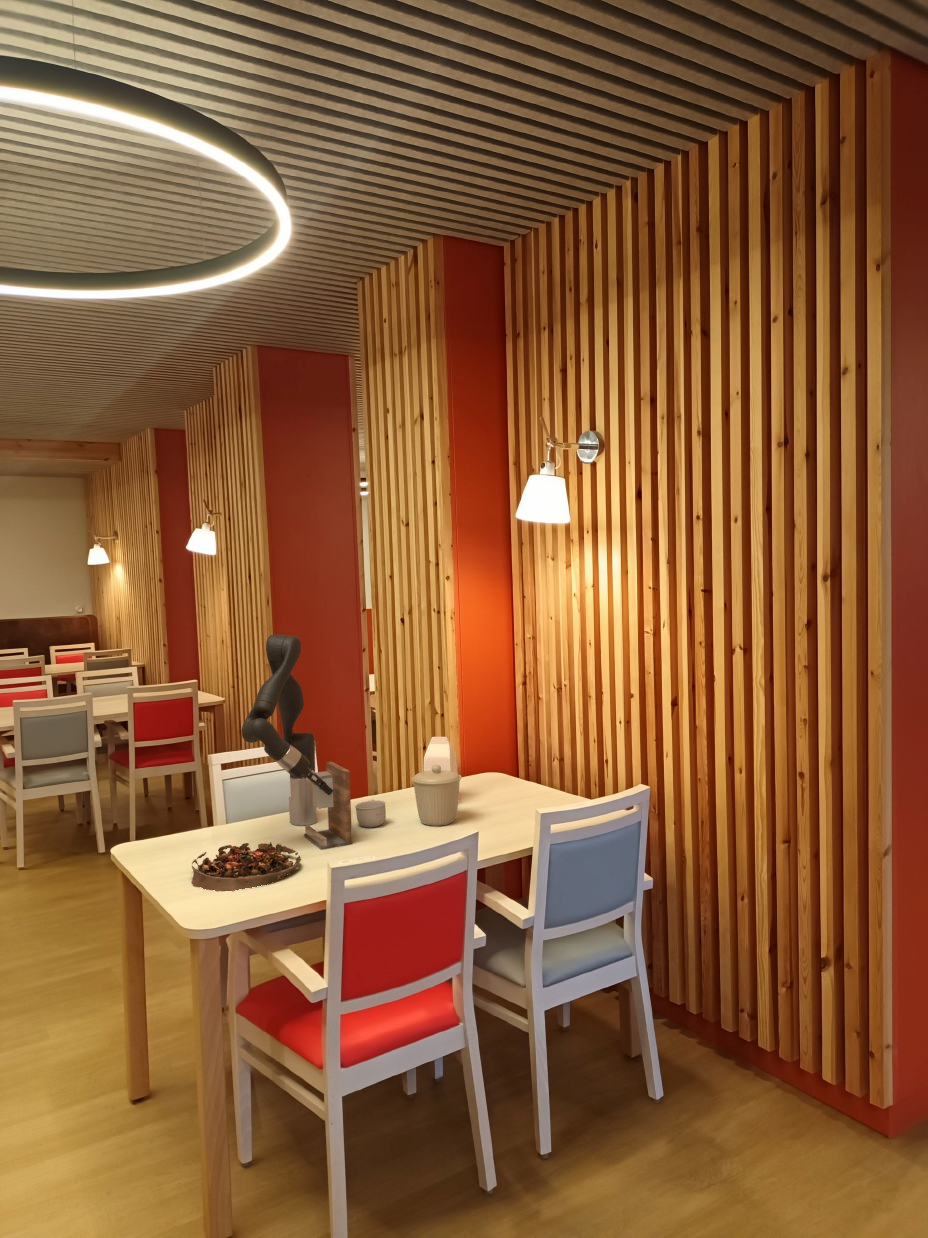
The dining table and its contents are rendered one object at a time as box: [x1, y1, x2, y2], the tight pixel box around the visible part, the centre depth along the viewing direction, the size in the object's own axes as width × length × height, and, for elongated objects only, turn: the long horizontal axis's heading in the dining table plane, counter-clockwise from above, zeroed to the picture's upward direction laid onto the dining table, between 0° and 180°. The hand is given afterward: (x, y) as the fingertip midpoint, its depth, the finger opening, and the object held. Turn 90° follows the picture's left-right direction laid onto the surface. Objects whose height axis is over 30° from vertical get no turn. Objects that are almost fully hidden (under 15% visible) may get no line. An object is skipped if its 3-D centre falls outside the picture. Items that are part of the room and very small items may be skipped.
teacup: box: [354, 799, 387, 828], centre depth 330 cm, size 14×11×8 cm
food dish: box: [190, 841, 302, 892], centre depth 281 cm, size 35×33×8 cm
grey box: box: [313, 771, 333, 810], centre depth 307 cm, size 5×6×11 cm
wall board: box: [303, 761, 353, 851], centre depth 311 cm, size 11×18×25 cm, turn 28°
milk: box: [423, 736, 461, 800], centre depth 358 cm, size 12×12×26 cm
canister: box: [411, 765, 462, 827], centre depth 329 cm, size 18×18×21 cm
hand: (327, 790), depth 308 cm, fingers closed on grey box, 6 cm apart
